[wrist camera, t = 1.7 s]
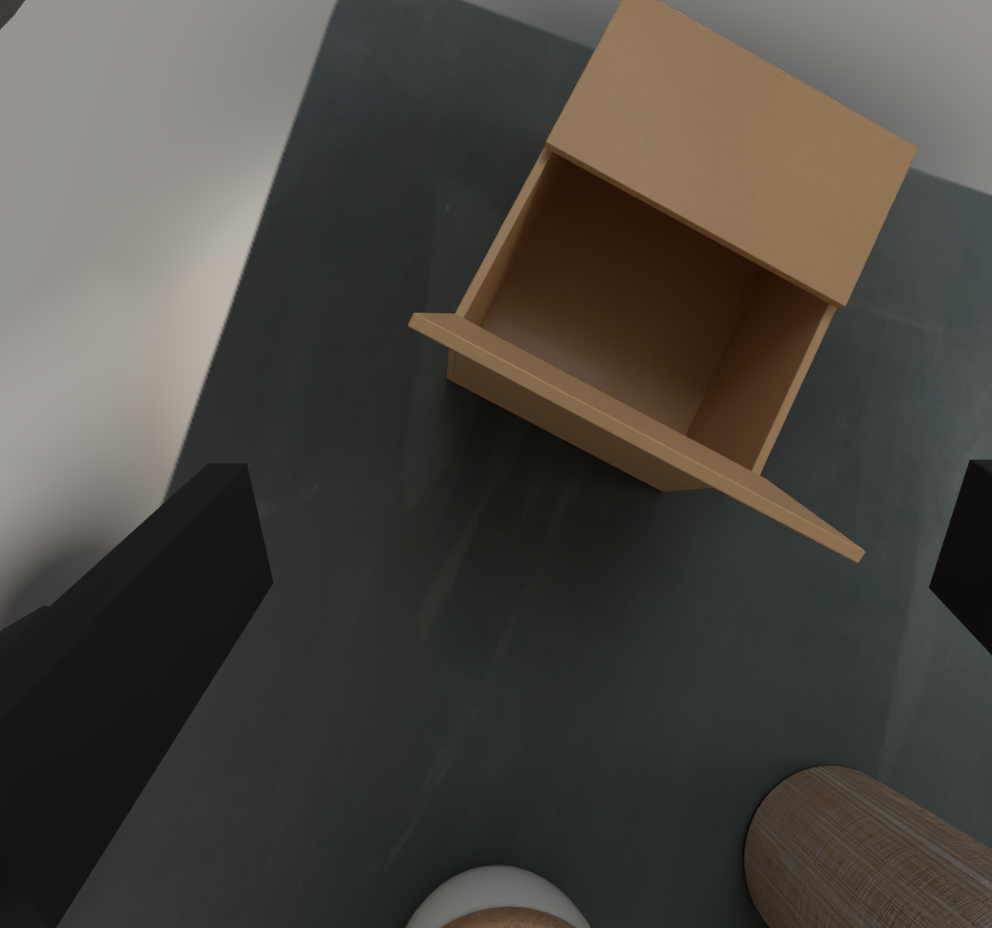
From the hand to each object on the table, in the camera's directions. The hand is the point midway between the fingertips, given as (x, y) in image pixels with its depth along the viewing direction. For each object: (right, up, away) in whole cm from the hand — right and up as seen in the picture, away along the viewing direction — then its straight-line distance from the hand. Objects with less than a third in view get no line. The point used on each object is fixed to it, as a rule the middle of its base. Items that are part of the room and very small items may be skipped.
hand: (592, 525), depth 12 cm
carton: (+5, +10, +24) cm, 27 cm away
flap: (+2, +3, +8) cm, 9 cm away
